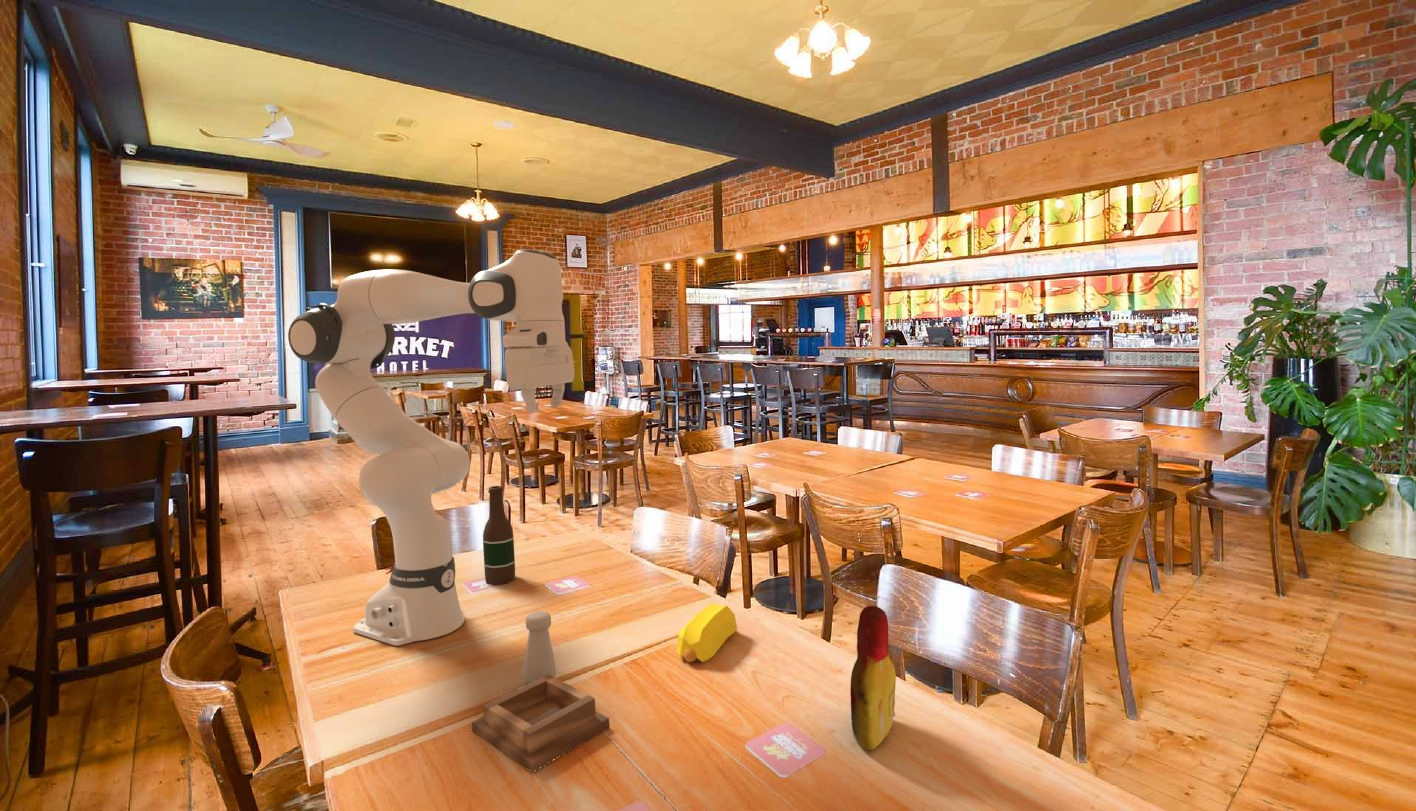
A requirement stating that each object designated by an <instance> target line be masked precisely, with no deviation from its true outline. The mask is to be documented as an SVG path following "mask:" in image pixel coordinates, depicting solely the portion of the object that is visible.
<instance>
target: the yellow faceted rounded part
mask: <svg viewBox="0 0 1416 811" xmlns="http://www.w3.org/2000/svg"><path fill="white" fill-rule="evenodd" d="M735 614H736V613H734V611H732V609H731V608H730V607H729V606H728V605H718V604H715V603H712V602H711V603H710V604H708V605H707V606H706V607H704V608H703V609H701V611H699V612H698V613H697V614H696V615H694V616H693V617H692V618H691V619H690V620H689V621H688V622H687V623H686V624H685V626H684V627H683V628H682V629H681V630H680V631H679V632H678V633H677V642H676V648H675V649H676V651H677V653H678V656H679V658H681V659H684V660H685V661H686V662H687V663H693V662H695V661H697V660H699V661H700V662H701V663H707V662H708V661H709V660H711V659H712V657H714V656H715V654H717V651H719V649H720V648H721V646H722V645H723V644H724V642H725V641H726V640H727V639H728V638H729V637H731V635H732V634H734V633H735V632H736V631H737V630H738V626H737V620H736V616H735Z"/></svg>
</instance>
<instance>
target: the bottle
mask: <svg viewBox="0 0 1416 811" xmlns="http://www.w3.org/2000/svg"><path fill="white" fill-rule="evenodd" d="M858 617H859V618H858V626H857V633H856V653H857V656H856V660H855V662H854V665H853V667H852V670H851V676H850V693H849V695H850V715H851V716H850V718H851V728H852V732H853V736H854V739H855V741H856V743H857V744H858V746H860V747H861V748H863V749H865V750H869V751H871V750H872V751H873V750H875V749H876V748H877V747H878V746H880V745H881V743H882V742H883V741H884V740H885V738H886V737H888V735H889V734H890V731H891V730H890V729H891V728H892V726H893V723H894V717H895V716H896V712H895V706H896V705H895V704H896V684H897V683H896V680H897V676H896V675H897V674H896V667H895V666H894V663H893V662H892V660H891V659H890V654H889V652H890V651H889V620H888V615H887V614H886V611H885V610H883V609H882V608H880V607H879V606H876V605H867V606H864V608H863V609H862V610H861V612H860V614H859V616H858Z"/></svg>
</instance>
